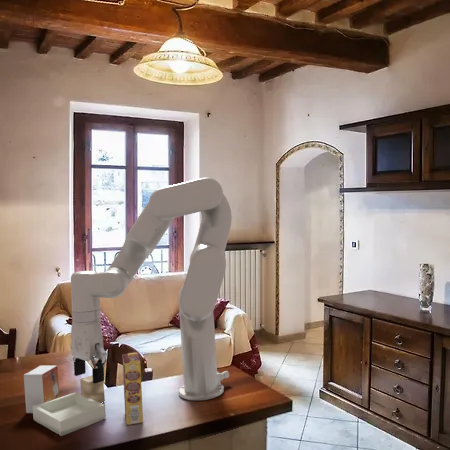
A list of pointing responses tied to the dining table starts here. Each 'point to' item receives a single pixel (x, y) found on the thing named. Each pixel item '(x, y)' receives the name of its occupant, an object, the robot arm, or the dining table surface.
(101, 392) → the birch block
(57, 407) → the tray
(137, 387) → the candy box
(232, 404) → the dining table surface
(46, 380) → the small box
